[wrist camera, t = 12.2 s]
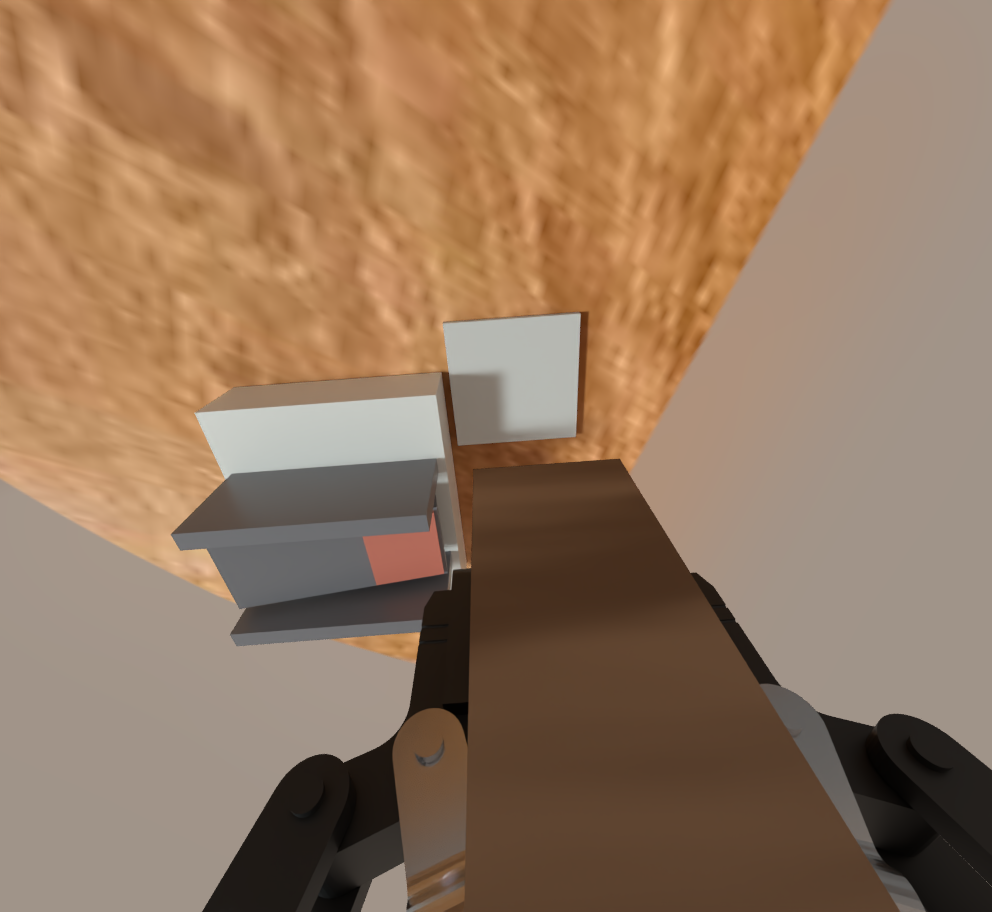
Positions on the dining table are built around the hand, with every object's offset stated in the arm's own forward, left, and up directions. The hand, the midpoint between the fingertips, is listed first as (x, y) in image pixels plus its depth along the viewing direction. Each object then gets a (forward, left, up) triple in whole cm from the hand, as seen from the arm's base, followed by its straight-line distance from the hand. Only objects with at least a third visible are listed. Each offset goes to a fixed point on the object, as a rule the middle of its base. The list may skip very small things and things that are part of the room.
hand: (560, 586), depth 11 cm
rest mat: (0, 0, -17) cm, 17 cm away
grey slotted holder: (+7, -11, -17) cm, 21 cm away
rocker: (+7, -11, -10) cm, 16 cm away
